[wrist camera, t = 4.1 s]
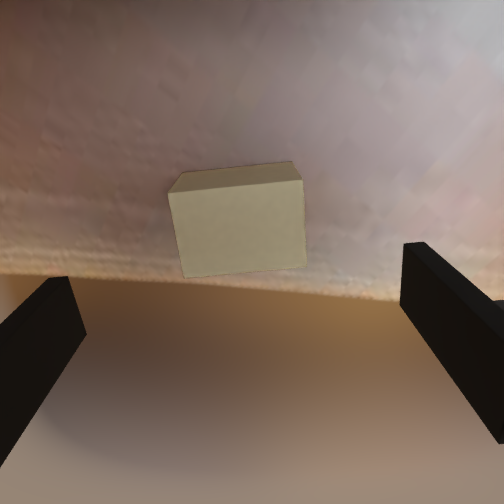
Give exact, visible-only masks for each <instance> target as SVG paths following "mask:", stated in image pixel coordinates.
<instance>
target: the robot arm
mask: <svg viewBox="0 0 504 504" xmlns="http://www.w3.org/2000/svg"><path fill="white" fill-rule="evenodd" d="M400 306H401V308H402V309H403V310H404V312H405V313H406V315H407V316H408V318H409V319H410V320H411V322H412V323H413V325H414V326H415V327H416V329H417V330H418V332H419V333H420V334H421V336H422V337H423V338H424V340H425V341H426V343H427V344H428V346H429V347H430V348H431V350H432V351H433V353H434V354H435V356H436V357H437V358H438V360H439V361H440V362H441V364H442V365H443V367H444V368H445V369H446V371H447V372H448V374H449V375H450V377H451V378H452V379H453V381H454V382H455V384H456V385H457V386H458V388H459V389H460V391H461V392H462V393H463V395H464V396H465V398H466V399H467V400H468V402H469V403H470V404H471V406H472V407H473V409H474V410H475V412H476V413H477V414H478V416H479V417H480V419H481V420H482V422H483V423H484V424H485V426H486V427H487V429H488V430H489V431H490V433H491V434H492V436H493V437H494V438H495V440H496V441H497V442H498V444H504V300H496V301H492V300H491V299H490V298H489V297H488V296H487V295H485V294H484V293H483V292H482V291H481V290H480V289H478V288H477V287H476V286H475V285H474V284H473V283H471V282H470V281H469V280H468V279H467V278H466V277H464V276H463V275H462V274H461V273H460V272H459V271H457V270H456V269H455V268H454V267H453V266H452V265H450V264H449V263H448V262H447V261H446V260H445V259H443V258H442V257H441V256H440V255H439V254H438V253H436V252H435V251H434V250H433V249H432V248H431V247H429V246H428V245H427V244H426V243H425V242H415V243H405V244H404V246H403V262H402V277H401V292H400ZM86 335H87V334H86V330H85V328H84V324H83V321H82V318H81V315H80V312H79V309H78V306H77V303H76V300H75V297H74V294H73V291H72V288H71V285H70V282H69V279H68V276H63V277H53V278H48V279H47V280H46V281H45V282H44V283H43V284H42V285H41V286H40V287H39V288H37V289H36V290H35V292H33V293H32V294H31V295H30V296H29V297H28V298H27V299H26V300H25V301H24V302H23V303H22V304H21V305H20V306H19V307H18V308H17V309H16V310H15V311H13V312H12V314H10V315H9V316H8V317H7V318H6V319H5V320H4V321H3V322H2V323H1V324H0V467H1V465H2V464H3V463H4V461H5V459H6V458H7V456H8V455H9V453H10V452H11V450H12V448H13V447H14V446H15V444H16V442H17V441H18V439H19V438H20V436H21V435H22V433H23V432H24V430H25V429H26V427H27V426H28V424H29V422H30V421H31V419H32V418H33V416H34V415H35V413H36V412H37V410H38V408H39V407H40V405H41V404H42V402H43V401H44V399H45V398H46V396H47V395H48V393H49V392H50V390H51V388H52V387H53V385H54V384H55V382H56V381H57V379H58V378H59V376H60V375H61V373H62V372H63V370H64V368H65V367H66V365H67V364H68V362H69V361H70V359H71V358H72V356H73V354H74V353H75V352H76V350H77V348H78V347H79V345H80V344H81V342H82V341H83V339H84V338H85V336H86Z"/></svg>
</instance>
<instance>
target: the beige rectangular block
mask: <svg viewBox="0 0 504 504" xmlns="http://www.w3.org/2000/svg"><path fill="white" fill-rule="evenodd" d="M167 195H168V200H169V205H170V210H171V215H172V220H173V225H174V231H175V236H176V241H177V246H178V251H179V256H180V261H181V267H182V272H183V277H184V279H185V278H196V277H206V276H217V275H227V274H238V273H248V272H259V271H269V270H280V269H290V268H301V267H307V255H306V233H305V210H304V187H303V179H302V177H301V176H300V174H299V172H298V171H297V169H296V167H295V166H294V164H293V162H292V161H291V162H281V163H272V164H262V165H252V166H242V167H233V168H223V169H213V170H203V171H194V172H184V173H182V174H181V175H180V177H179V178H178V179H177V181H176V182H175V184H174V185H173V186H172V188H171V189H170V190H169V192H168V193H167Z"/></svg>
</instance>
